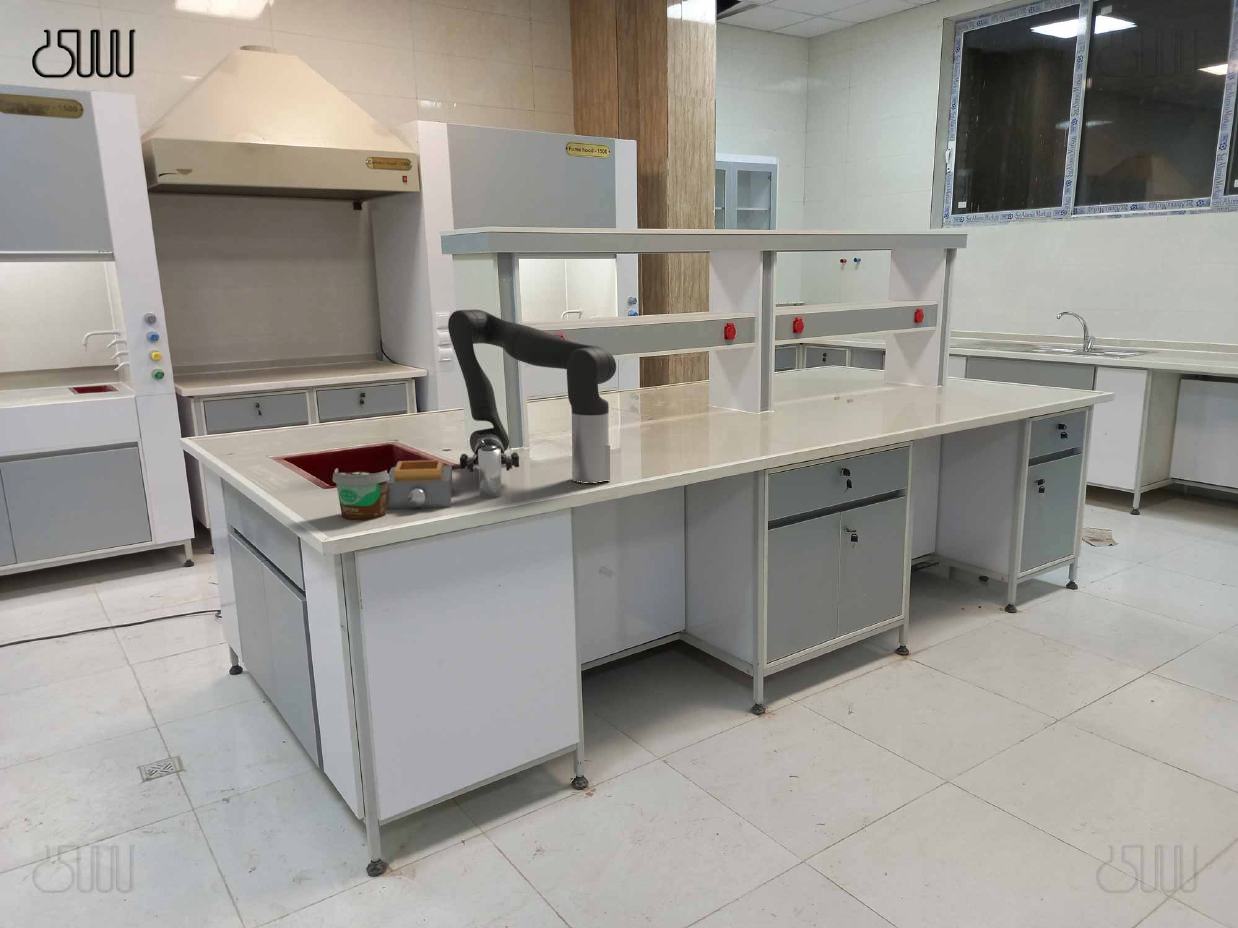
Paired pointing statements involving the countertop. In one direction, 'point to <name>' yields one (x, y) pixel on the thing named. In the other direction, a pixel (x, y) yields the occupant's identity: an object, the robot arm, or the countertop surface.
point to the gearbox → (419, 485)
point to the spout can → (489, 470)
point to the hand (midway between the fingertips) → (489, 467)
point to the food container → (361, 494)
